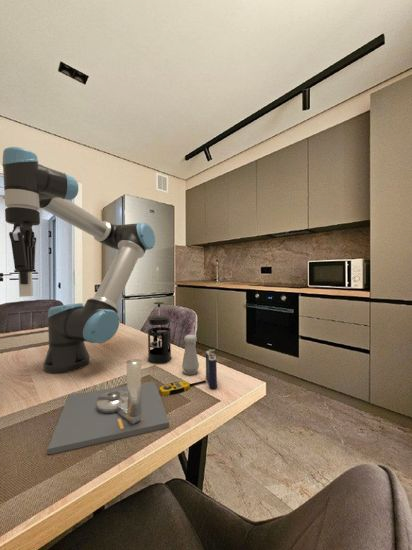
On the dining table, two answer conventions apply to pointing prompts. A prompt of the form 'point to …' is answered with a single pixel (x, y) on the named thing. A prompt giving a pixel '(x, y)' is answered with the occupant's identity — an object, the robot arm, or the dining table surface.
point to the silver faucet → (125, 395)
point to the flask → (211, 369)
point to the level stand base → (104, 420)
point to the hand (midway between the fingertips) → (26, 296)
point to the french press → (163, 347)
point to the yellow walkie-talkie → (176, 387)
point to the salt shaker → (190, 355)
